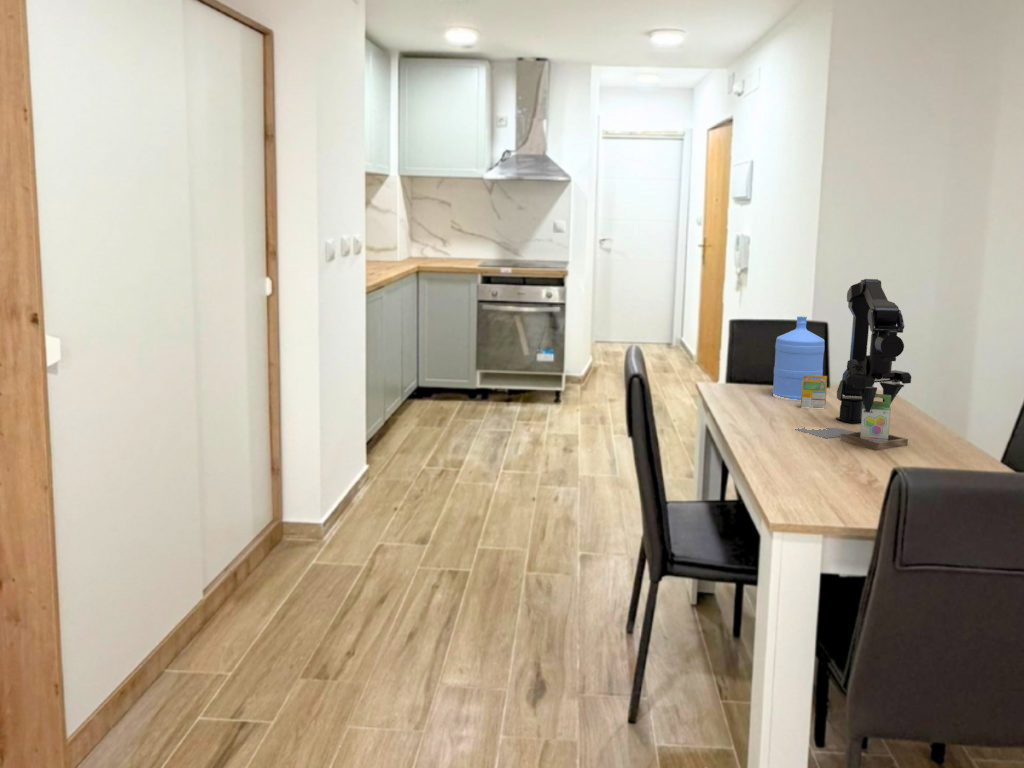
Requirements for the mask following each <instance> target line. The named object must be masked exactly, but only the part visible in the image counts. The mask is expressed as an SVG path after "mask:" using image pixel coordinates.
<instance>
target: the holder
mask: <svg viewBox="0 0 1024 768" xmlns="http://www.w3.org/2000/svg"><path fill="white" fill-rule="evenodd" d="M860 436H861V431H855V432H854V433H846V434H841V437H839V439H840V441H841V442H845V443H848V444H850V445H851V444H852V445H856V446H858V447H863V448H866V449H869V450H873V451H882V450H888V449H894V448H900V447H901V448H902V447H906V446H908V445H909V443H908V442H909V439H908V438H905V437H902V436H901V437H900V436H897V435H892V434H889V436H888V441H882V442H873V441H870V440H866V439H862V438H860Z"/></svg>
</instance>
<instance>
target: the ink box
mask: <svg viewBox="0 0 1024 768" xmlns="http://www.w3.org/2000/svg"><path fill="white" fill-rule="evenodd" d="M875 398H879V399H882V400H883V399H884V400H885V401H884V402H883V401H877V400H874V401H873V404H872V407H871V410H870V412H867V411H865V407H864V406H863V409H862V422H860V423H861V424H860V432H861V436H860V438H862V439H866V440H870V441H873V442H882V441H888V436H889V435H890V423H891V422H890V421H891V404H892V403H891V395H884V394H883V393H876V394H875ZM890 403H891V404H890Z"/></svg>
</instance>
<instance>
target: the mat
mask: <svg viewBox="0 0 1024 768" xmlns="http://www.w3.org/2000/svg"><path fill="white" fill-rule="evenodd" d="M826 429H827V430H826ZM826 429H823V430H821V429H819V430H814V429H812V430H807V429H805V427H804V428H802V429H799V428H798V429H795V430H794V431H797V430H798V431H797V432H800V431H801V432H800V433H805V434H807V433H809V434H808V435H811V434H812V435H811V436H814V435H815V437H818V436H819V437H818V438H821V437H822V438H821V439H827V440H828V438H829V439H835V438H836V439H837V438H840V437H841V434H846V433H854V432H856V431H854V430H850V429H846V428H839V427H830V428H826Z"/></svg>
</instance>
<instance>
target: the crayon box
mask: <svg viewBox="0 0 1024 768" xmlns="http://www.w3.org/2000/svg"><path fill="white" fill-rule="evenodd" d="M810 377H817V378H820V380H814V379H810ZM827 388H828V375H823V376H816V375H804V376H803V380H802V397H801V401H800V408H801V407H809V408H824V409H825V410H826V401H827Z"/></svg>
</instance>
